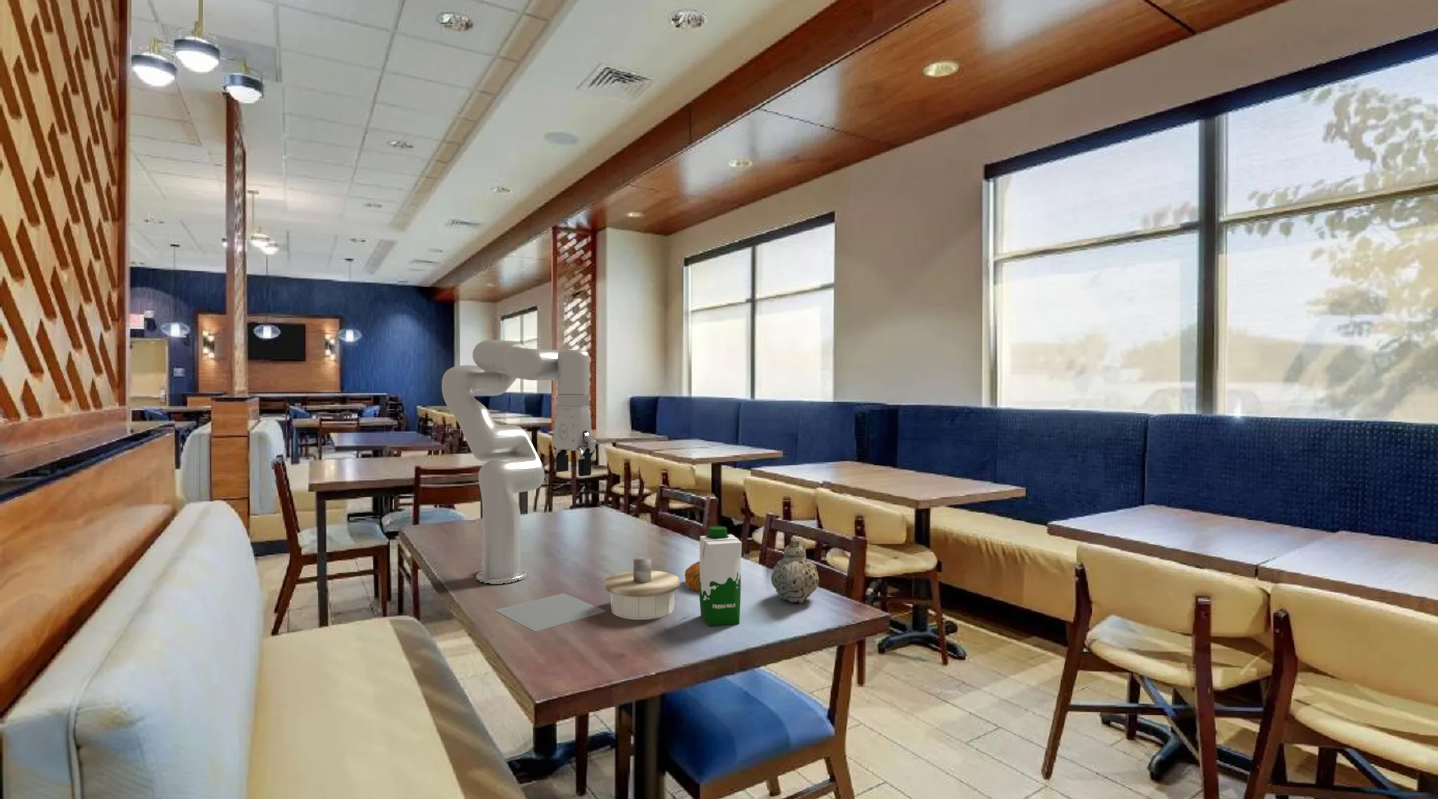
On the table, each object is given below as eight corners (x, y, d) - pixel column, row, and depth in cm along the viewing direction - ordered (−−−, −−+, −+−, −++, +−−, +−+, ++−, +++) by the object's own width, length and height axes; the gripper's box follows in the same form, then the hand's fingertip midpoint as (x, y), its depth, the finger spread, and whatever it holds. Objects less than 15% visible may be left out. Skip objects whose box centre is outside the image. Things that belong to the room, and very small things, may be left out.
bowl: (599, 610, 156) (599, 584, 155) (647, 597, 165) (647, 572, 165) (637, 626, 146) (637, 599, 145) (685, 611, 155) (686, 585, 155)
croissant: (741, 586, 182) (743, 556, 183) (737, 596, 167) (738, 563, 168) (688, 583, 184) (690, 552, 185) (678, 592, 169) (680, 559, 169)
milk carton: (733, 611, 156) (733, 524, 155) (744, 625, 147) (745, 533, 147) (695, 614, 154) (696, 526, 153) (705, 628, 145) (706, 535, 144)
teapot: (816, 615, 154) (817, 549, 154) (765, 611, 156) (766, 546, 156) (821, 587, 175) (822, 529, 174) (776, 584, 177) (777, 526, 177)
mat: (494, 612, 154) (494, 610, 154) (563, 595, 166) (563, 593, 166) (534, 634, 141) (535, 631, 141) (606, 613, 153) (606, 611, 153)
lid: (589, 584, 155) (589, 558, 155) (647, 570, 167) (648, 546, 167) (635, 602, 143) (635, 573, 143) (694, 585, 155) (695, 559, 155)
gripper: (540, 401, 166) (540, 471, 166) (580, 403, 153) (580, 479, 154) (567, 400, 171) (567, 468, 171) (607, 402, 159) (607, 476, 159)
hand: (573, 473), depth 163 cm, fingers open, 9 cm apart
